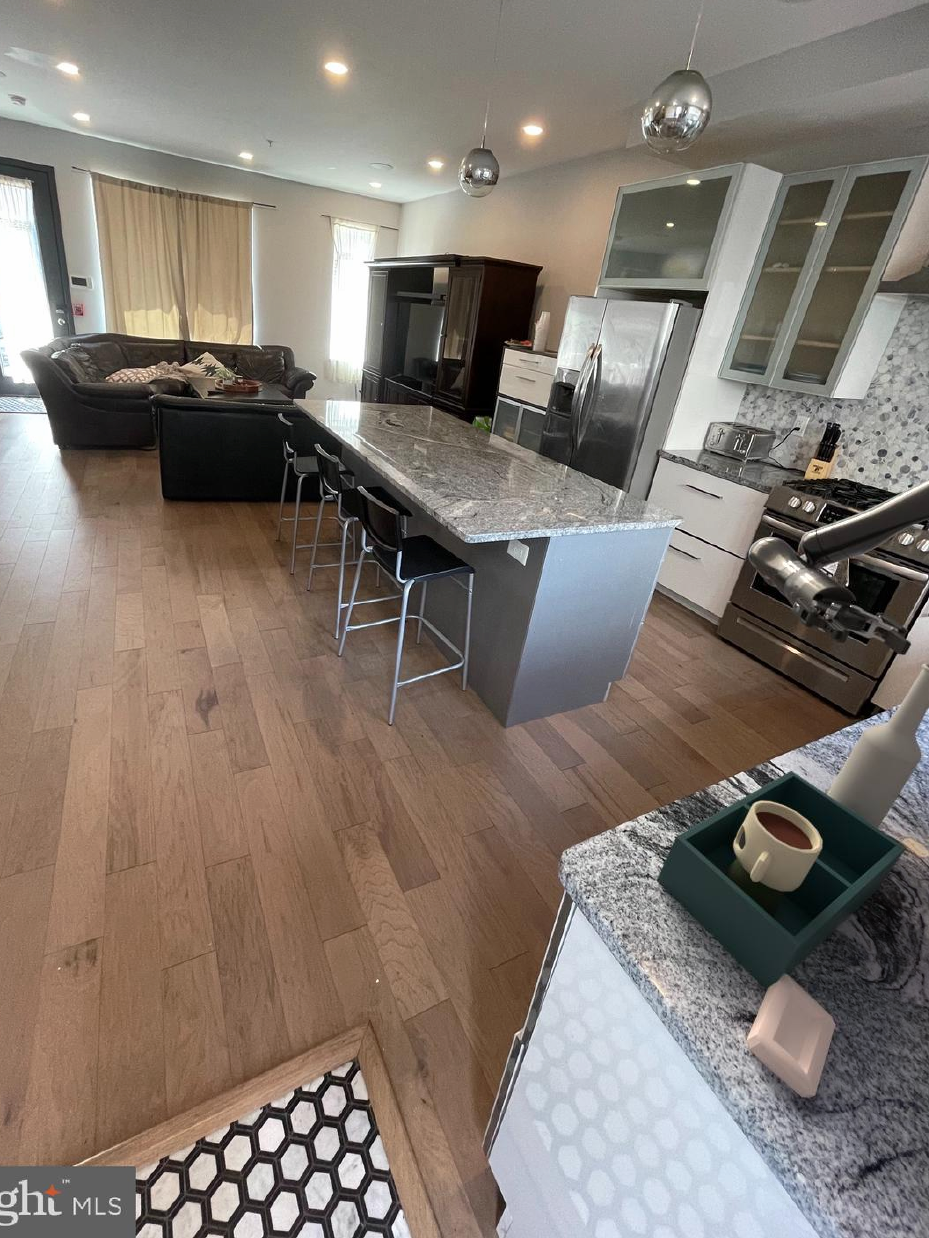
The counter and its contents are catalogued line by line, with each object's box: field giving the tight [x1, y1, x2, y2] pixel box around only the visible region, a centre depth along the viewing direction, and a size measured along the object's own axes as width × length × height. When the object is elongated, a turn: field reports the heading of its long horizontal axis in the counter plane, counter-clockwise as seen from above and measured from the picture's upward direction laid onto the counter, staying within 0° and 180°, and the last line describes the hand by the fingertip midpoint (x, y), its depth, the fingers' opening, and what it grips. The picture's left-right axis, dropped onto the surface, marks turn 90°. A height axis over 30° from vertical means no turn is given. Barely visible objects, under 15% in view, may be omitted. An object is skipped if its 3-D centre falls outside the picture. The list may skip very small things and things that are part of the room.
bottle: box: [826, 662, 929, 830], centre depth 75 cm, size 7×7×28 cm
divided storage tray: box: [656, 770, 907, 991], centre depth 69 cm, size 27×14×7 cm, turn 121°
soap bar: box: [746, 974, 836, 1099], centre depth 54 cm, size 5×9×2 cm, turn 134°
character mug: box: [724, 801, 822, 919], centre depth 64 cm, size 11×7×13 cm, turn 131°
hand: (875, 643), depth 80 cm, fingers open, 8 cm apart
